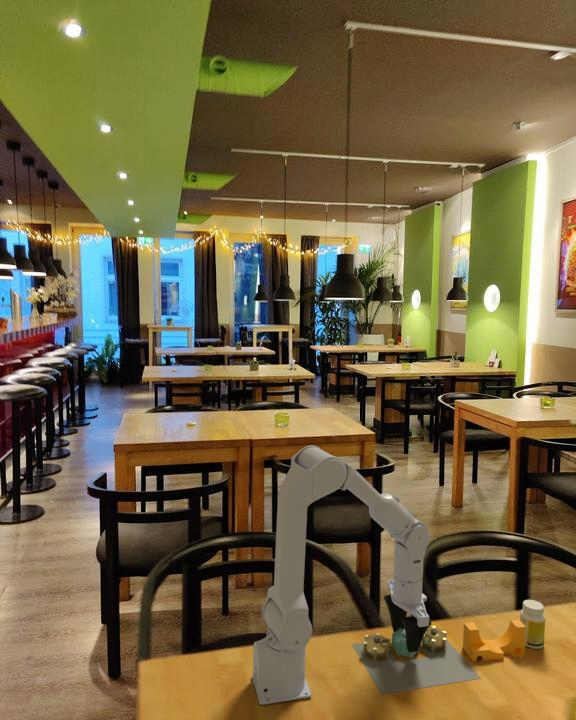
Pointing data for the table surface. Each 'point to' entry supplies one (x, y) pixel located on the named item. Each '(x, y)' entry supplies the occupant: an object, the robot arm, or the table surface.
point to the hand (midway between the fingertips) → (405, 640)
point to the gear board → (414, 663)
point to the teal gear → (401, 643)
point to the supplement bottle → (533, 623)
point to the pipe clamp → (495, 642)
